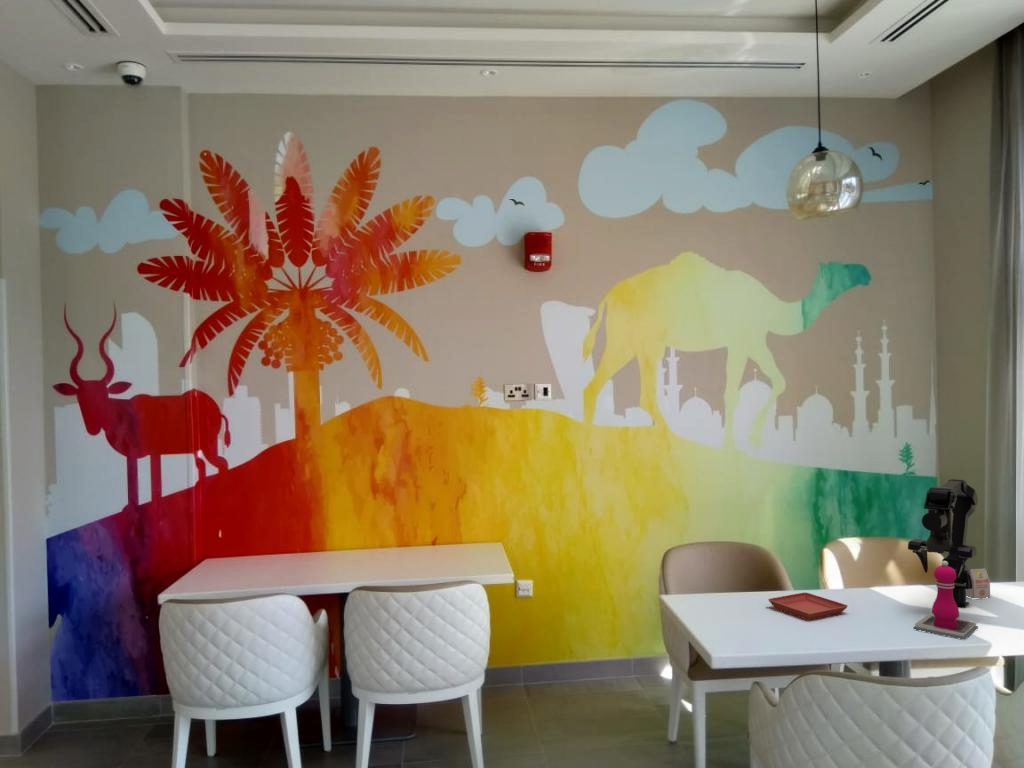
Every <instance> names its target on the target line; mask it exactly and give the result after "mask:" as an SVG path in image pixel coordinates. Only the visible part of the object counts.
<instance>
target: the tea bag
mask: <svg viewBox="0 0 1024 768" xmlns="http://www.w3.org/2000/svg"><path fill="white" fill-rule="evenodd" d="M968 571H969V573H970V576H971V578H972V583H973V588H972V589H966V596H968V597H971V598H986V597H988V598H989V597H990V598H991V580H990V578H989V575H988V572H987V568H984V567H983V568H971V569H969V568H968ZM965 584H966V583H965Z"/></svg>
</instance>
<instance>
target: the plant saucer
mask: <svg viewBox="0 0 1024 768" xmlns="http://www.w3.org/2000/svg"><path fill="white" fill-rule="evenodd" d="M767 600H768V602H770V604H771V605H772V606H773V607H774V608H775V609H776V610H778V609H779V610H778V611H781V610H782V612H784V611H785V612H784V613H787V612H788V614H790V613H791V615H793V614H794V615H793V616H796V615H797V616H796V617H799V616H800V617H799V618H802V617H803V618H802V619H805V618H806V619H805V620H808V619H811V620H815V619H814V618H816V619H820V618H819V617H821V618H825V616H826V617H830V616H829V615H831V616H835V615H834V614H836V615H839V613H840V614H842V613H843V612H844V611H845V610H846V609H847V608H848V607H849V606H848V604H844V603H842V602H838V601H836V600H832V599H829V598H825V597H823V596H820V595H815V594H812V593H810V592H805V591H804V592H799V593H795V594H794V593H793V594H788V595H782V596H777V597H772V598H768V599H767Z"/></svg>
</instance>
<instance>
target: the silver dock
mask: <svg viewBox="0 0 1024 768" xmlns="http://www.w3.org/2000/svg"><path fill="white" fill-rule="evenodd" d="M935 618H936V617H935V616H934V615H933V614H927V615H925V616H924V617H923V618H922V619H920V620H918V621H917V622H916V623H915V625H914V626H913V628H912V629H917V630H921V631H920V632H922V631H926V632H925V633H927V632H930V633H929V634H932V633H934V634H933V635H937V634H938V636H942V635H945V636H944V637H947V636H950V637H949V638H952V637H954V639H957V638H960V639H959V640H962V639H966V638H967V637H968V636H969V637H970V636H971V635H972V633H973V632H974V631H975V630H976V629H977V628H978V629H979V626H978V625H977V623H976V622H973V621H968V620H961V619H958V618H957V619H956V620H955V621H957V628H956V629H946V628H941V627H936V626H934V619H935ZM978 629H977V630H978ZM917 630H916V631H917ZM977 630H976V631H977ZM976 631H975V632H976ZM975 632H974V633H975ZM974 633H973V634H974ZM969 637H968V638H969ZM968 638H967V639H968ZM967 639H966V640H967Z"/></svg>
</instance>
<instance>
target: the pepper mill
mask: <svg viewBox="0 0 1024 768" xmlns="http://www.w3.org/2000/svg"><path fill="white" fill-rule="evenodd" d="M933 576H934V578H935V579H936V581H935V586H936V587H937V589H936V590H937V592H936V593H937V594H936V598H935V599H934V601H933V604H932V607H931V612H932V615H934V616H935V617H936V618H935V619H934V626H936V627H941V628H946V629H956V628H957V621H955V620H956V619H957V620H958V618H959V616H960V610H959V607H957V605H956V602H955V600H954V597H953V588H954V587H955V586H954V584H955V583H954V582H953V581H954V580H955V579H956V572H955V570H954V569H953V568H951V567H949V566H948V562H947V561H943V562H942V561H941V565H939V566H937V567H935V569H934V570H933Z"/></svg>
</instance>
